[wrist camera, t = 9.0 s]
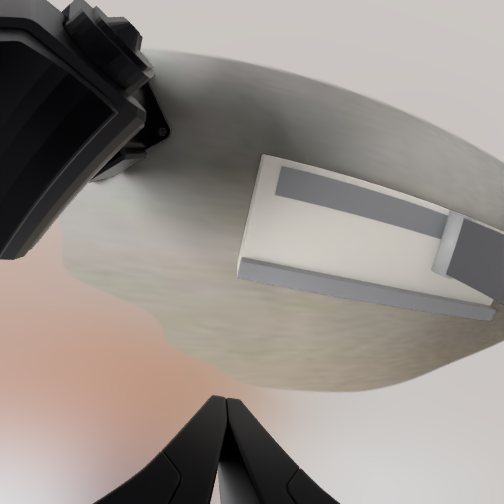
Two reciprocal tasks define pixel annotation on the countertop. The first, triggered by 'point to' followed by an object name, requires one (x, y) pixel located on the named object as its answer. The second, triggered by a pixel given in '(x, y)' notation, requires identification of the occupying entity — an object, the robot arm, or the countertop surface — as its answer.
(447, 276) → the lever
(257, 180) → the panel
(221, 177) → the countertop surface
